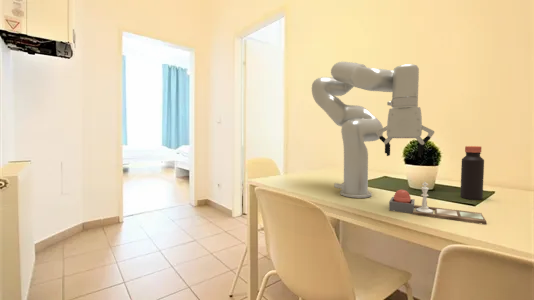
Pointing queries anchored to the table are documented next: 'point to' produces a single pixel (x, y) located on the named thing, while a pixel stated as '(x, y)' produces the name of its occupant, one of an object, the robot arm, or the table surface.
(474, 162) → the bottle
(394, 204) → the dome housing
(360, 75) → the robot arm
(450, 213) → the game board
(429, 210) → the chess piece
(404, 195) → the pop dome
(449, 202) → the table surface
